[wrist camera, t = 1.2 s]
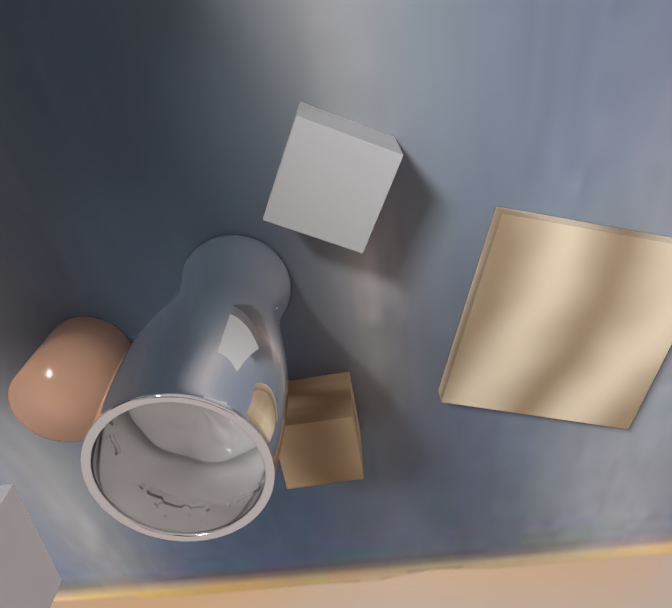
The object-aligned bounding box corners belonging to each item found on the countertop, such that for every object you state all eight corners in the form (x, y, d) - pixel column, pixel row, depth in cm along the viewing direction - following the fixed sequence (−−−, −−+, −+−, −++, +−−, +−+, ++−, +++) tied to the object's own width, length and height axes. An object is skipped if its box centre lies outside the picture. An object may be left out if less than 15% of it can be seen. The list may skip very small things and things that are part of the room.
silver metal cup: (208, 353, 36) (138, 566, 22) (151, 252, 33) (31, 428, 19) (317, 316, 35) (312, 516, 21) (268, 207, 32) (226, 361, 18)
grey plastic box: (269, 194, 32) (262, 219, 28) (300, 100, 29) (296, 115, 26) (358, 225, 32) (362, 253, 29) (394, 136, 30) (403, 155, 27)
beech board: (437, 390, 37) (441, 402, 36) (496, 206, 32) (502, 213, 31) (619, 417, 38) (628, 429, 37) (705, 243, 33) (718, 252, 32)
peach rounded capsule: (49, 381, 37) (11, 435, 32) (46, 310, 34) (5, 356, 30) (132, 393, 37) (106, 447, 33) (135, 323, 35) (107, 371, 30)
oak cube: (291, 438, 39) (287, 489, 35) (276, 381, 37) (270, 428, 33) (360, 428, 39) (364, 478, 35) (349, 370, 37) (352, 416, 33)
